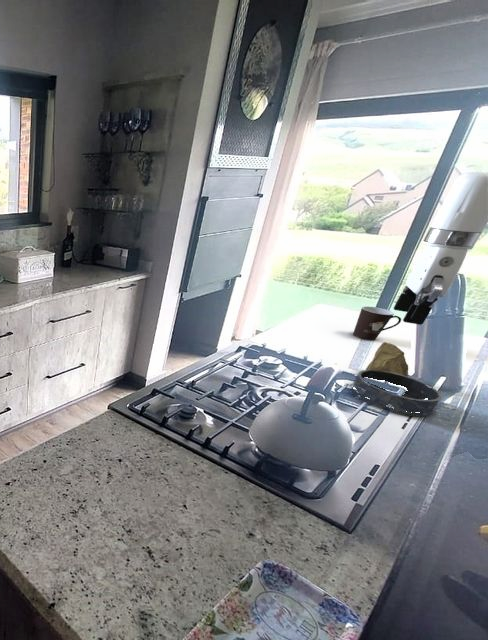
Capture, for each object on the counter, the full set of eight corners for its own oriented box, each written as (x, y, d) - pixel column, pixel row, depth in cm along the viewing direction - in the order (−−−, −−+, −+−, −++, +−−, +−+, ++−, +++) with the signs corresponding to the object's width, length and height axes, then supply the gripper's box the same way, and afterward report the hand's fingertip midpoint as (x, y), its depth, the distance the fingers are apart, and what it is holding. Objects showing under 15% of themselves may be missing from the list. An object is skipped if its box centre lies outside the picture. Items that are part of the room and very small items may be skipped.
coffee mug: (348, 336, 145) (361, 310, 140) (349, 330, 150) (362, 304, 146) (390, 346, 138) (406, 319, 133) (390, 339, 144) (405, 312, 139)
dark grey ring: (413, 391, 111) (422, 377, 108) (445, 422, 97) (456, 407, 95) (342, 379, 116) (349, 365, 114) (363, 407, 103) (372, 392, 100)
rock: (411, 368, 118) (370, 354, 123) (430, 354, 111) (385, 339, 116) (396, 397, 116) (355, 381, 121) (414, 384, 108) (369, 368, 113)
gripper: (492, 247, 75) (440, 332, 84) (461, 235, 88) (418, 309, 97) (438, 242, 79) (393, 324, 87) (415, 231, 92) (378, 303, 100)
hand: (406, 316), depth 92 cm, fingers open, 9 cm apart
